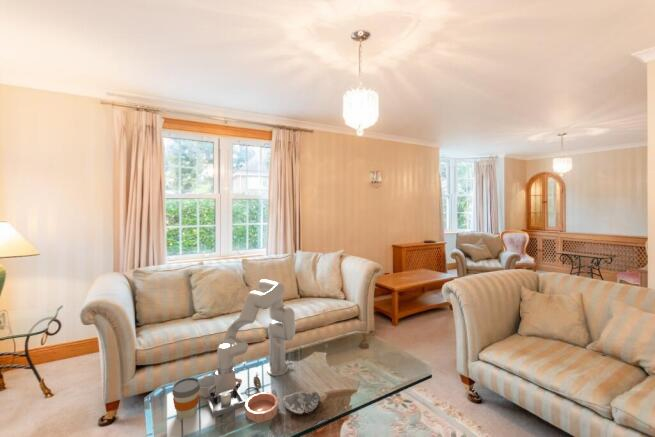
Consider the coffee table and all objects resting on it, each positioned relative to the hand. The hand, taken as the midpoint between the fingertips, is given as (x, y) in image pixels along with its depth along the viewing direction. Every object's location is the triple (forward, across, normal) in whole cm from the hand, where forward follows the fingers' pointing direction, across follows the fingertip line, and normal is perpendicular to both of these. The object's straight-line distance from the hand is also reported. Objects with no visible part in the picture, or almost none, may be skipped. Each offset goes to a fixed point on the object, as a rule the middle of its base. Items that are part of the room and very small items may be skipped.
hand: (225, 400), depth 165 cm
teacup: (+3, +5, -15) cm, 16 cm away
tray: (+3, 0, 0) cm, 3 cm away
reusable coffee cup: (+3, +18, -5) cm, 19 cm away
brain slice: (+3, -33, +22) cm, 40 cm away
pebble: (+2, 0, 0) cm, 2 cm away
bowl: (+3, -14, +14) cm, 20 cm away
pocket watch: (+3, -16, -3) cm, 17 cm away
